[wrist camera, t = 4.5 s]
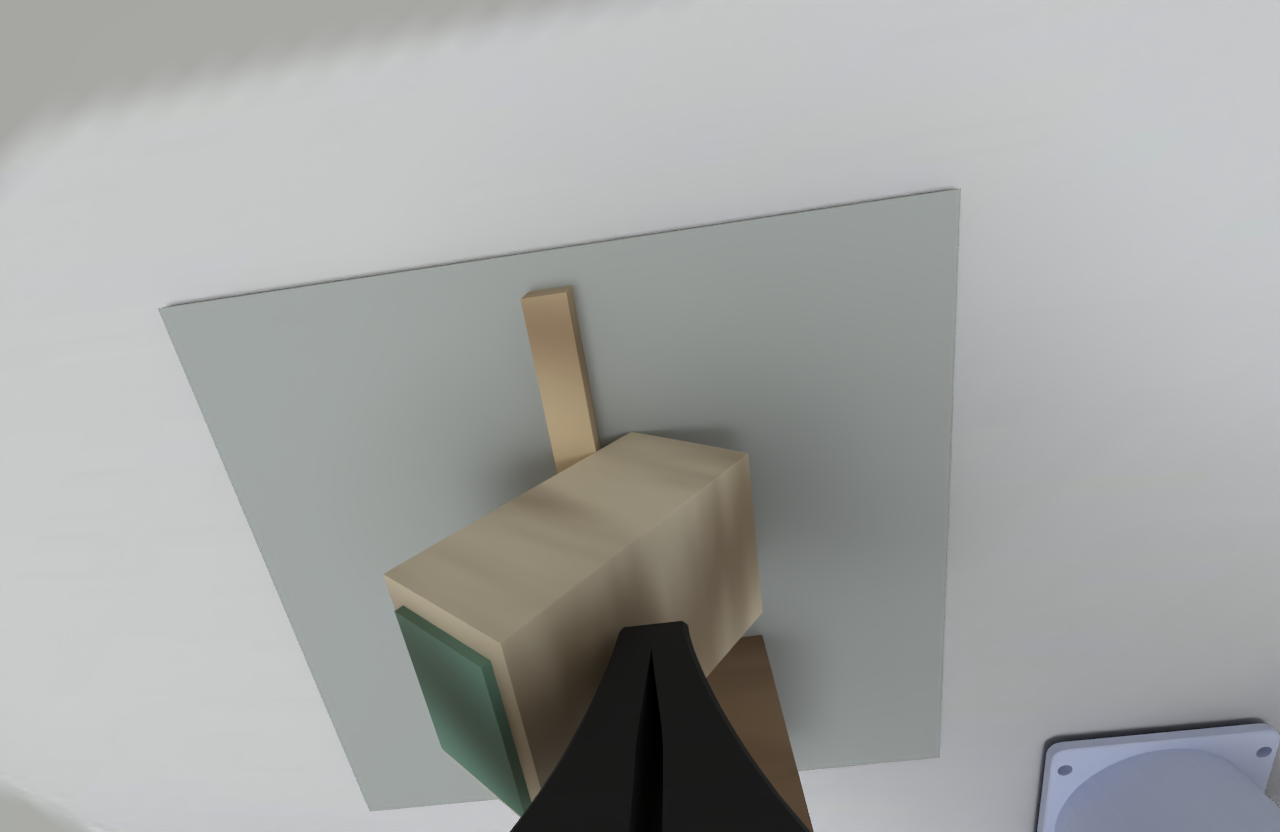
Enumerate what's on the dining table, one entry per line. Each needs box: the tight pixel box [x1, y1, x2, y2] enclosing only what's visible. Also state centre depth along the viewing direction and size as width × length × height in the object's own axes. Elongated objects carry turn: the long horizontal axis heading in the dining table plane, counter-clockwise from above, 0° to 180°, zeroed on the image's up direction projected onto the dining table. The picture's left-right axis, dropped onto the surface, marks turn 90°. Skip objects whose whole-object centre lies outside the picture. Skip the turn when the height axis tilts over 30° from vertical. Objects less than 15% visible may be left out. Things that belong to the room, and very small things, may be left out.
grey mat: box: [158, 189, 961, 811], centre depth 20 cm, size 20×22×1 cm
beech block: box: [383, 432, 763, 817], centre depth 15 cm, size 5×4×8 cm
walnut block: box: [706, 635, 813, 832], centre depth 18 cm, size 5×4×8 cm
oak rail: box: [520, 285, 601, 474], centre depth 19 cm, size 18×1×1 cm, turn 8°
